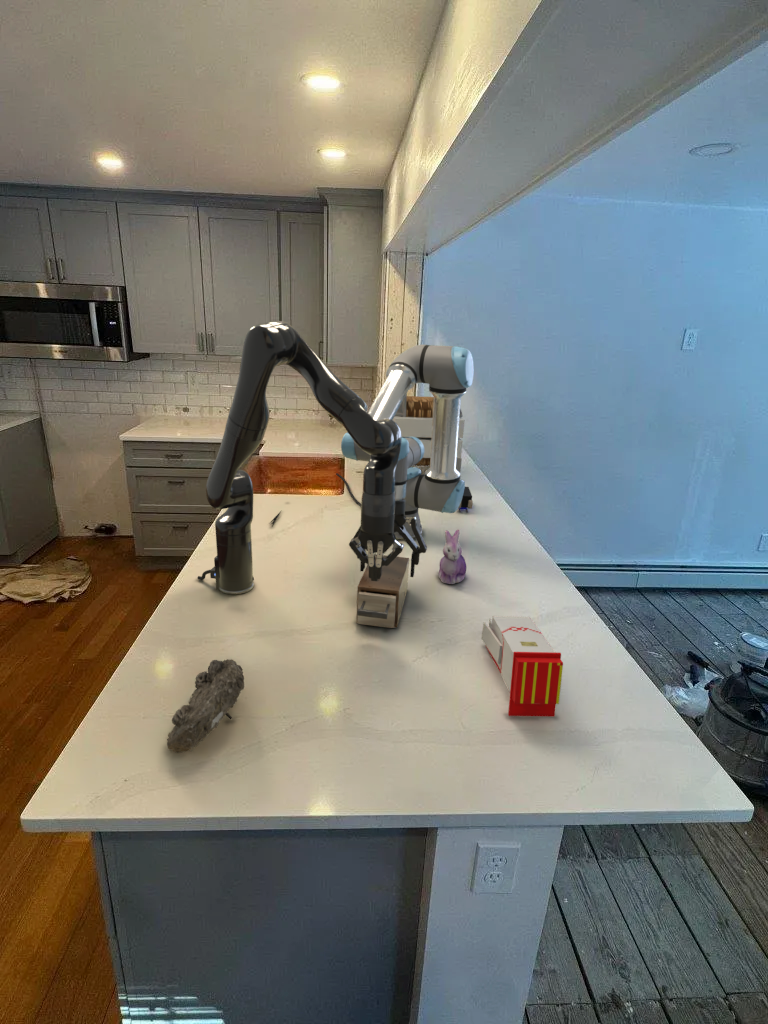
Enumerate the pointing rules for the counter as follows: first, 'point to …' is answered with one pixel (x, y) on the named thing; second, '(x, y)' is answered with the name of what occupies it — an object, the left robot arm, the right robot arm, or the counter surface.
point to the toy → (525, 665)
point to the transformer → (423, 425)
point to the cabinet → (389, 582)
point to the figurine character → (466, 500)
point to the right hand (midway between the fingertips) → (387, 572)
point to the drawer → (376, 609)
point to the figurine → (452, 560)
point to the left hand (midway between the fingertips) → (375, 579)
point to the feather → (274, 519)
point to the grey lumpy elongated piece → (206, 705)
